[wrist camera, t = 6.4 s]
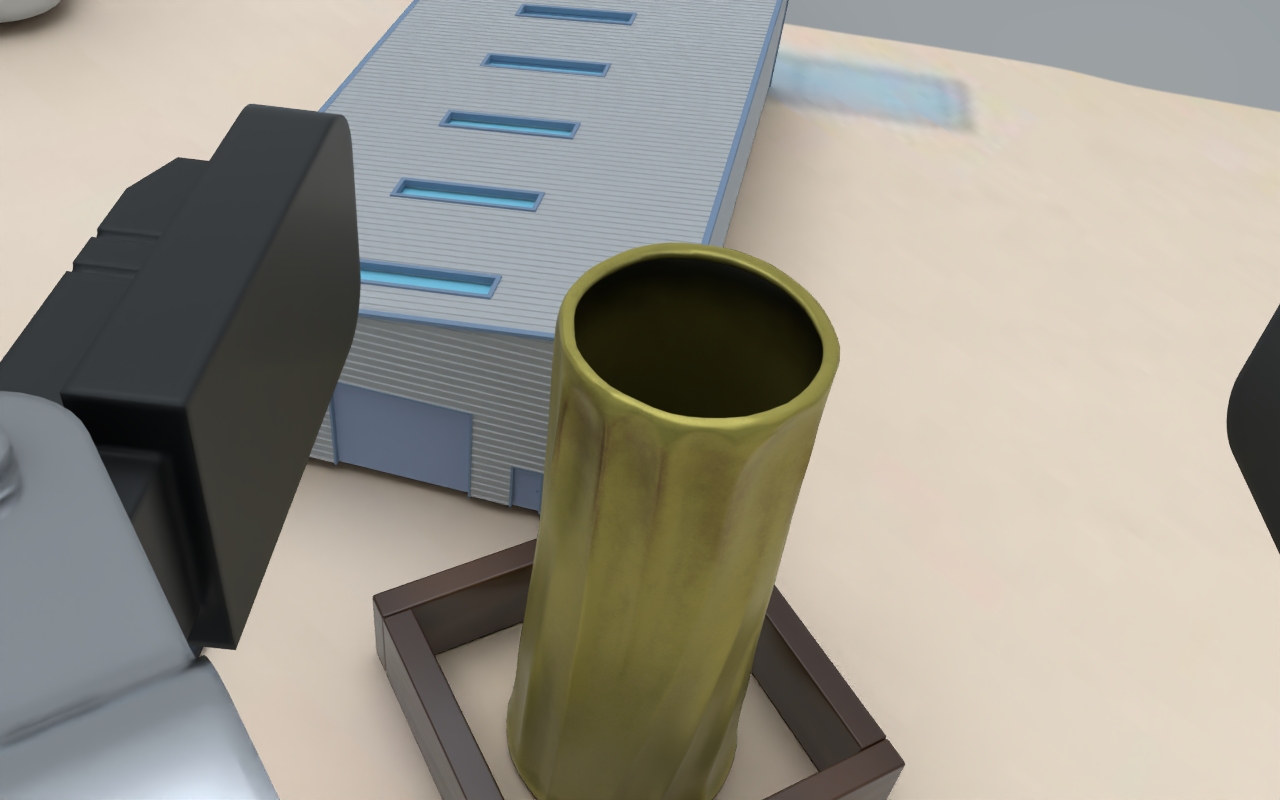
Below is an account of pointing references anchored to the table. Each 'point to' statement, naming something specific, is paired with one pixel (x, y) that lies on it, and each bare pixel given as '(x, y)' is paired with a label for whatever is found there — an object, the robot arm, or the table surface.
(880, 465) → the table surface
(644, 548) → the vase
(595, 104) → the warehouse
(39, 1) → the plastic bottle
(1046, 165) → the table surface
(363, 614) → the table surface
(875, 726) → the holder
